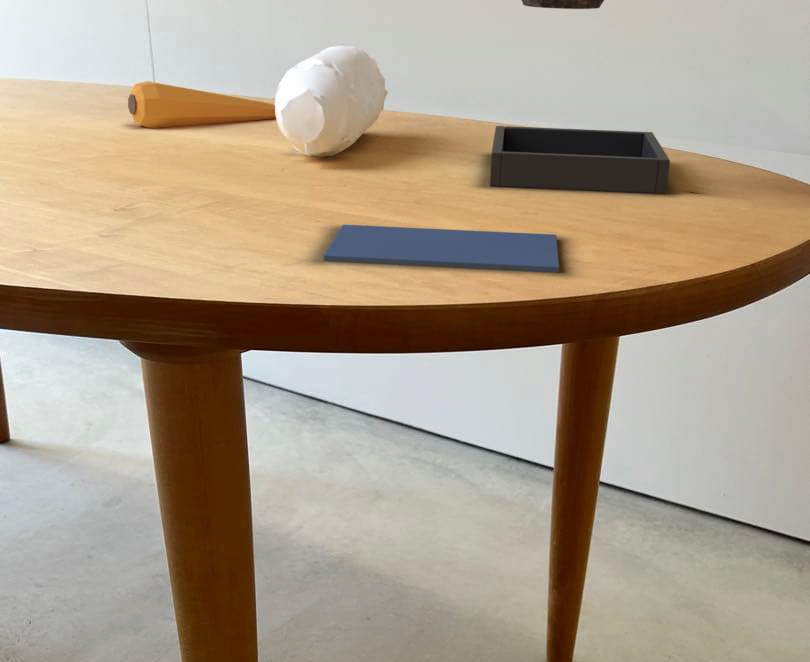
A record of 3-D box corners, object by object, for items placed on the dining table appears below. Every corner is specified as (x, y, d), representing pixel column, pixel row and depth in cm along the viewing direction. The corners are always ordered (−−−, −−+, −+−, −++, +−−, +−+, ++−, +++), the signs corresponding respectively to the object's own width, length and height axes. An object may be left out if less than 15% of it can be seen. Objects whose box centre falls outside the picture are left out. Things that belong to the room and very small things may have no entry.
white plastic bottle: (256, 169, 91) (251, 65, 88) (304, 132, 108) (302, 43, 104) (351, 174, 91) (350, 69, 87) (385, 136, 107) (386, 46, 103)
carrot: (136, 138, 107) (143, 94, 104) (120, 113, 109) (126, 69, 106) (316, 144, 118) (327, 105, 114) (298, 122, 120) (308, 82, 117)
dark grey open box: (648, 164, 98) (652, 132, 96) (665, 196, 86) (670, 160, 84) (493, 157, 99) (495, 125, 97) (489, 188, 87) (491, 152, 85)
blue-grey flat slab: (555, 242, 72) (556, 234, 72) (558, 275, 65) (559, 266, 65) (342, 231, 73) (342, 224, 73) (323, 263, 66) (323, 255, 66)
